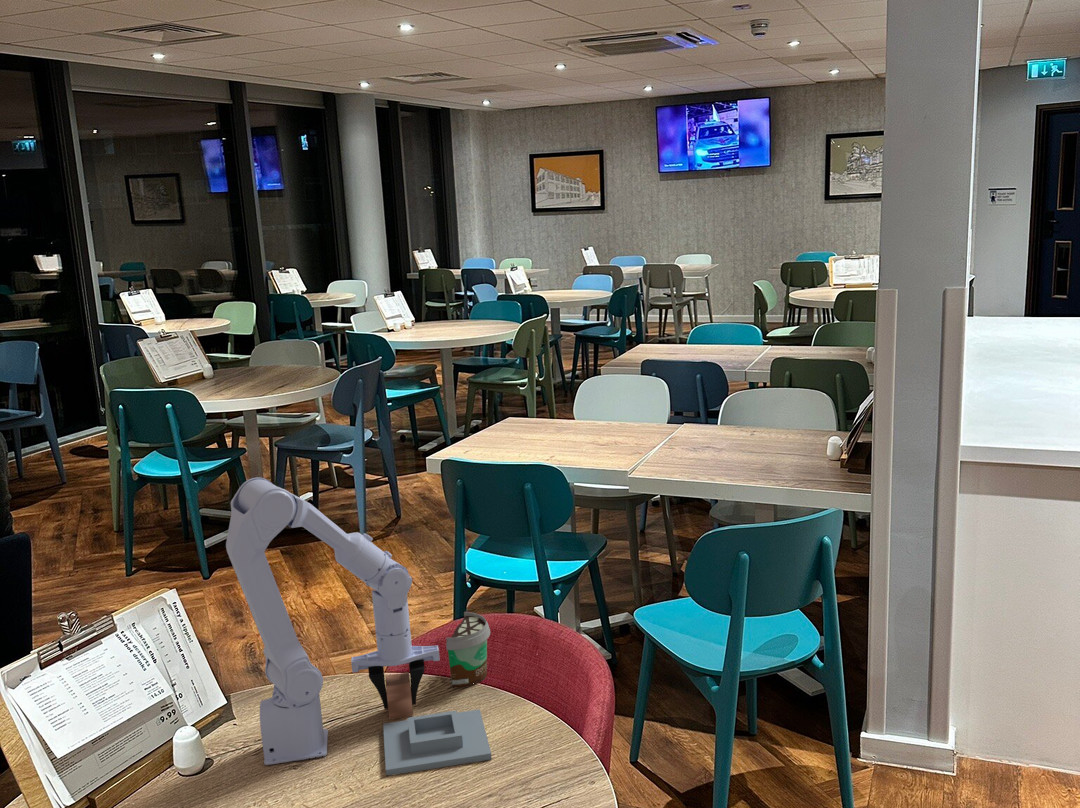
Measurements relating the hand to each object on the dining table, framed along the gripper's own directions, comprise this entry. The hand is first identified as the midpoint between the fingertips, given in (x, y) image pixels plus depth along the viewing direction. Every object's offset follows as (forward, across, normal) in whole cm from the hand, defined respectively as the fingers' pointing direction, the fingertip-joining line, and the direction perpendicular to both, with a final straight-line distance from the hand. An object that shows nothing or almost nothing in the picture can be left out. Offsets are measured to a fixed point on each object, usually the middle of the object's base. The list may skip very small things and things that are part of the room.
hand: (400, 704), depth 162 cm
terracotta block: (+1, 0, 0) cm, 1 cm away
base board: (+1, -5, +12) cm, 13 cm away
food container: (+2, -14, -9) cm, 17 cm away
